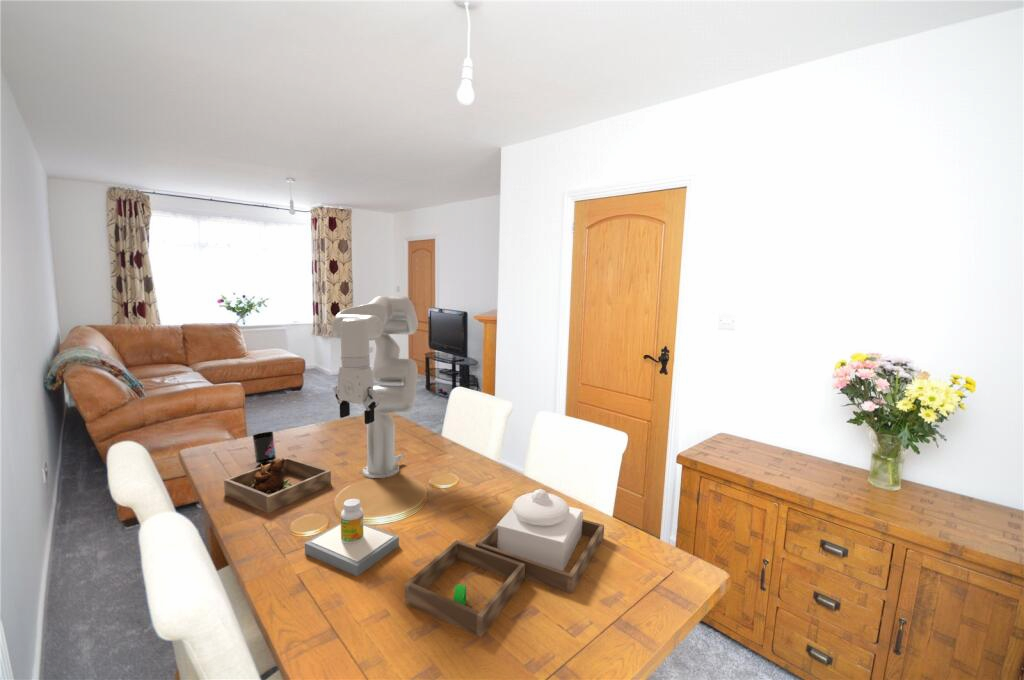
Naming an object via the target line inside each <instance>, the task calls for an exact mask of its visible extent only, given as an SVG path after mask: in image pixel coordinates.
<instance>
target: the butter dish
mask: <svg viewBox="0 0 1024 680" xmlns="http://www.w3.org/2000/svg"><path fill="white" fill-rule="evenodd" d="M583 517H584V510H583V509H581V508H576V507H574V506H573V507H572V506H569V505H568V503H567V502H566V501H565V500H564V499H563V498H561V497H559V496H557V495H556V494H553V493H549V492H547V491H546V490H544V489H542V488H538V489H535V490H534V491H532V492H527V493H525V494H522V495H520V496H519V497H517V498H516V499H515V500H514V501H513V503H512V507H511V508H510V510H508V511H507V513H506V514H505V515H504V516H503V517H502V518H501V519H500V520H499V521H498V523H497V524H496V525H495V526H496V528H498V542H497V543H496V545H497V547H496V548H497V549H500V550H503V551H506V552H508V553H511V554H514V555H517V556H520V557H523V558H526V559H529V560H532V561H535V562H538V563H541V564H544V565H547V566H549V567H552V568H555V569H558V570H561V571H564V572H565V569H566V567H567V565H568V563H569V561H570V558H571V557H572V555H573V553H574V551H575V549H576V546H577V545H578V543H579V541H580V539H581V537H582V536H583V535H582V521H583Z"/></svg>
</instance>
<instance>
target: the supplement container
mask: <svg viewBox="0 0 1024 680" xmlns="http://www.w3.org/2000/svg"><path fill="white" fill-rule="evenodd" d="M252 441H253V447H254V448H253V450H254V457H255V463H256V464H257V465H261V464H266V463H270V462H271V461H272V460H273V459H277V455H276V446H275V438H274V432H273V431H265V432H261V433H255V434H253V435H252Z"/></svg>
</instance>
